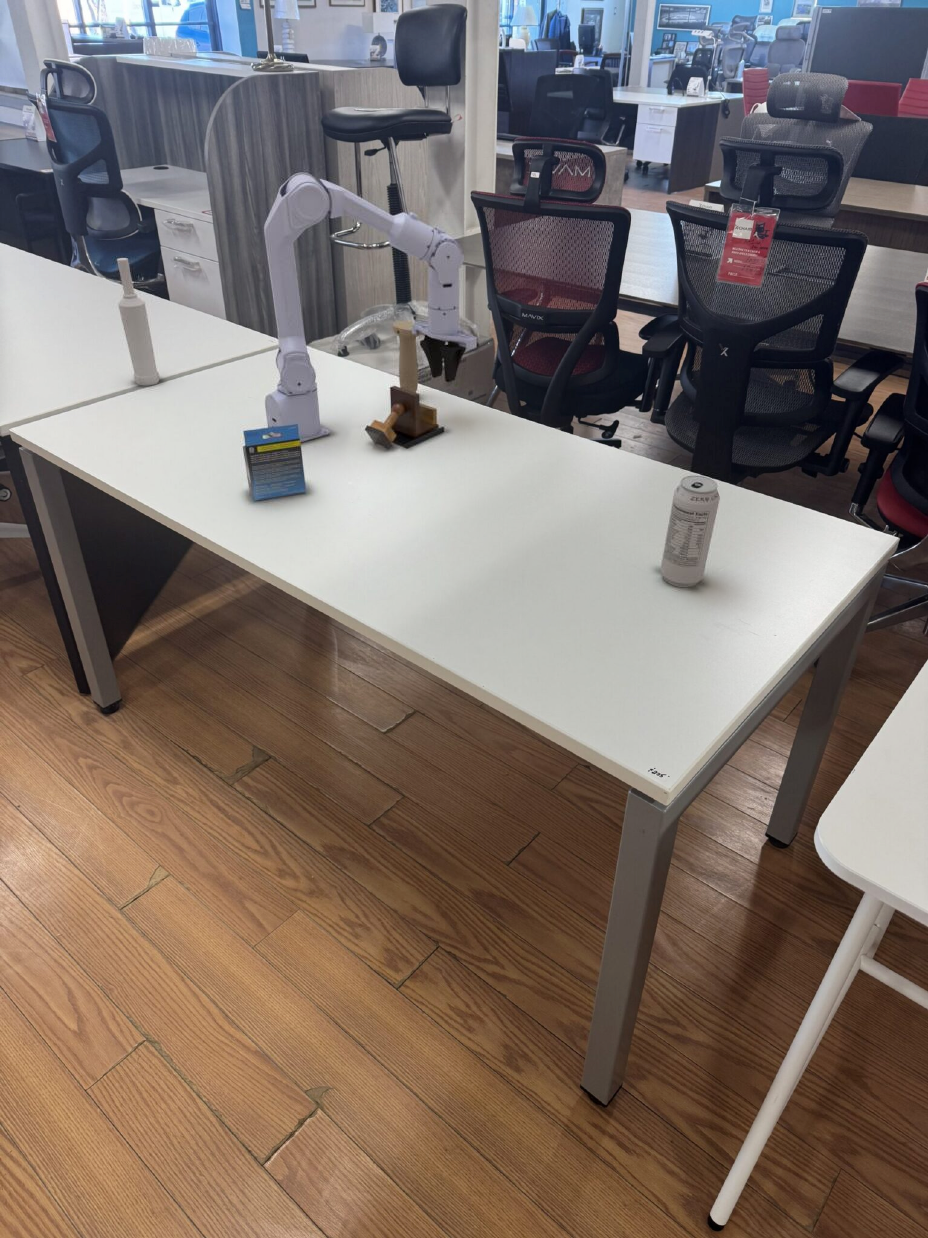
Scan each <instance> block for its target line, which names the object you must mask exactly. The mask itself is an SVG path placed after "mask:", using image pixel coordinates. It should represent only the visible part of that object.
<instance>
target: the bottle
mask: <svg viewBox="0 0 928 1238" xmlns="http://www.w3.org/2000/svg"><path fill="white" fill-rule="evenodd" d="M116 262H117V266H118V267H117V268H118V270H119V275H120V280H121V284H122V285H121V286H122V290H123V294H122V299H120V301H119V302H118V303H117V304H118V306H117V307H118V310H119V315H120V318H121V323H122V327H123V330H124V335H125V340H126V344H127V348H128V352H129V356H130V360H131V364H132V369H133V379H134V381H135V383H136V385H137V386H142V387H149V386H154V385H157V384H158V383H160V373H159V371H158V367H157V363H156V358H155V352H154V346H153V341H152V336H151V330H150V324H149V317H148V313H147V308H146V302H145V301H144V300H142V298H140V297H139V296H138V295H137V293H136V292H135V288H134V284H133V278H132V274H131V270H130V269H131V268H130V263H129V258H127V257H119V258H117V259H116Z"/></svg>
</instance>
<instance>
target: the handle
mask: <svg viewBox="0 0 928 1238" xmlns="http://www.w3.org/2000/svg"><path fill="white" fill-rule="evenodd" d="M412 323H415V322H414V321H408V320H400V321H396V322H393V323H392V325H391V326H392V327H391V328H392V331H393V333H394V334H395V335H396V336H398V339H399V341H398V342H399V346H398V347H399V351H398V353H399V355H398V377H399V378H398V380H399V387H400V388H403V389H406V390H409V391H412V392H415V393H417V391H418V387H419V366H418V365H419V364H418V354H417V337H419V336H421V335H420V334H412Z"/></svg>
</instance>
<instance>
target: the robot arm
mask: <svg viewBox="0 0 928 1238" xmlns="http://www.w3.org/2000/svg"><path fill="white" fill-rule="evenodd" d="M319 181H320V182H321V184H322V185H321V184H320V182H319ZM327 215H328V217H329V218H330V219H335V218H339V217H343V216H346V217H348V218H351V219H352V220H355V221H357V222H360V223H361V224H363V225H366V226H368V227H370V228H372V229H375V230H376V231H378V232H381V233H383V234H385V235H386V238H387V240H388V244H389V245H390V247H393V248H395V249H397V250H399V251H401V252H403V253H405V254H407V255H408V256H410V257H413V258H414V259H417V260H418V261H420V262H427V264H428V267H427V270H428V271H427V273H428V279H427V322H423V321H419V320H418V321H415V322H414V323H412V334H420V335H419V336H424V337H423V339H421V340H419V346H420V347H421V349H422V351H423V353H424V355H425V357H426V360H427V364H428V366H429V370H430V374H431V377H432V378H433V379H436V378H439V377H441V376H442V375H443V373H444V381H445V382H446V383H451V382H453V381H455V380H456V377H457V373H458V369H459V366H460V363H461V361H462V359H463V356H464V354H465V352H466V350H468V351H471V350H475V349H476V348H477V342H478V341H477V340H478V337H477V336H474V335H471V334H469V333H468V332H466V331H464V330H462V328H461V326H460V269H461V268H462V266H463V264H464V261H465V255H464V254H463V253H464V252H463V249H462V247H461V246H460V245H461V244H460V243H458V241H456V240H455V239H454V238H453V237H451V236H450V235H449V234H447V233H446V232H445V231H443V230H442V229H441V228H440V227H438V226H435V227H432V226H431V225H428V224H427V223H425V222H423V221H420V220H419V216H418V215H417V214H416V213H414V212H411V211H410V212H409V214H407V213H406V212H400V213H397V214H395V215H394V214H393V215H392V214H390V213H388V212H386V211H385V210H383V209H381V208H380V207H378V206H376V205H374V204H372V203H371V202H369V201H367V200H366V199H364V198H362V197H360V196H359V195H357V194H355V193H353V192H352V191H350V190H348V189H346V188H345V187H342V186H340V185H337V184H335V183H333V182H331V181H327V180H325V179H323V178H319V180H318V179H317V178H316V177H315V176H314V175H312V174H310V173H307V172H297V173H295V174H293V175H291V176H290V177H289V178H288V179H287V180H286V181H285V182H284V183H283V184H281V186H280V187H279V189H278V191H277V195H276V198H275V200H274V202H273V205H272V207H271V209H270V211H269V213H268V216H267V218H266V220H265V223H264V225H263V234H264V242H265V249H266V256H267V263H268V270H269V278H270V285H271V286H270V287H271V292H272V299H273V306H274V307H273V308H274V315H275V322H276V326H277V327H276V329H277V343H278V349H277V350H278V351H277V353H276V357H275V365H276V368H277V370H278V373H279V378H280V380H279V382H278V383H277V385H276V387H277V388H276V389H275V390H274V391H273V392H271V393H269V394H267V395H266V396H265V398H264V408H265V415H266V423H267V428H269V427H277V426H285V425H293V424H298V430H299V438H300V442H301V443H303V442H307V441H311V440H313V439H317V438H320V437H324V436H328V435H330V434H331V431H330V430H329V429H327V428H325V427H324V426H322V425H321V416H320V405H319V404H320V403H319V394H318V393H319V392H318V383H317V382H316V380H317V379H316V378H317V374H316V373H317V372H316V370H315V368H314V367H313V365H312V363H311V357H310V355H309V353H308V347H307V342H306V336H305V329H304V321H303V313H302V304H301V295H300V286H299V278H298V277H299V276H298V270H297V261H296V254H295V253H296V252H295V246H294V244H295V241H296V240H297V239H298V238H299V237H300V236H301V235H302V234H303V233H304V231H305V230H306V229H308V228H311V227H312V226H315V225H316V224H318V223H319V222H321V221H323V220H324V218H325V217H326V216H327ZM446 343H447V344H446ZM443 369H444V372H443ZM268 435H269V436H271V438H272V437H279V436H281V434H280V433H276V434H274V433H273V432H270V433H269V434H268Z"/></svg>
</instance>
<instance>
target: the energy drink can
mask: <svg viewBox="0 0 928 1238" xmlns="http://www.w3.org/2000/svg"><path fill="white" fill-rule="evenodd" d="M720 501H721V497H720V494H719V491H718V482H717V481H715V480H714V479H712V478H710V477H707V476H704V475H687V476H684V477H683V478H681V480H680V484H679V485H678V486H677V487H676V488H675V490H673V496H672V502H671V508H670V515H669V519H668V525H667V530H666V535H665V541H664V548H663V551H662V552H663V553H662V558H661V565H660V574H661V575H662V576H663V579H664V580H665V582H666V583H668V584H670V585H671V586H674V587H678V588H691V587H694V586H695V585H697V584H698V582H700V581H701V580H702V579H703V577H704V574H705V569H706V565H707V561H708V556H709V552H710V551H709V550H710V545H711V541H712V537H713V533H714V527H715V523H716V518H717V513H718V508H719V504H720Z"/></svg>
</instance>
